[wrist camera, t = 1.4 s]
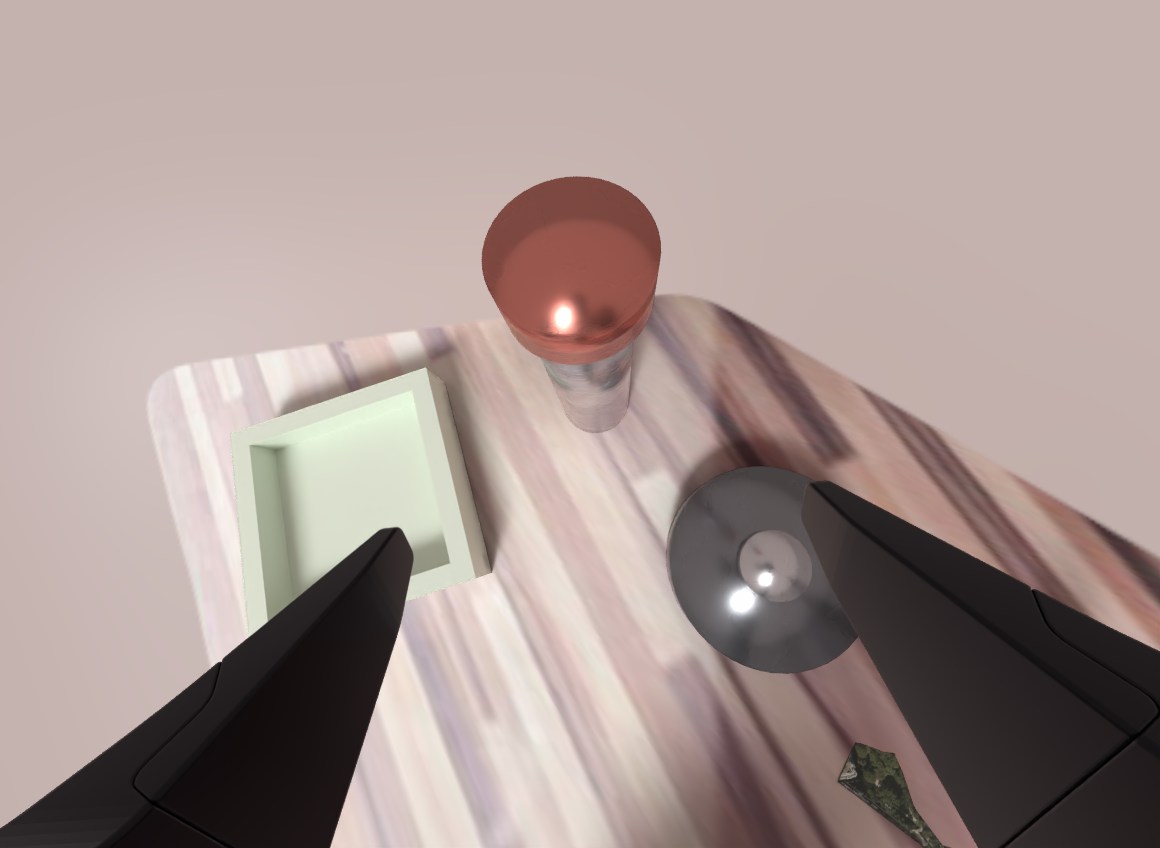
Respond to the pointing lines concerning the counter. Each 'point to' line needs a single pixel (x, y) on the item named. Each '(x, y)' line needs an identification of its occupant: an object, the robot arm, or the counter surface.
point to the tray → (354, 491)
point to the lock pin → (576, 287)
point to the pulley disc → (755, 573)
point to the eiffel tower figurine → (886, 791)
